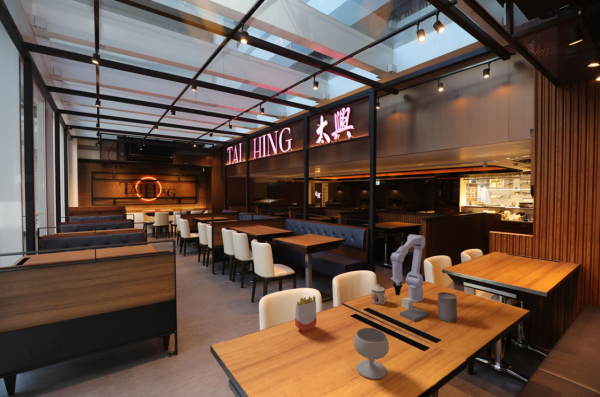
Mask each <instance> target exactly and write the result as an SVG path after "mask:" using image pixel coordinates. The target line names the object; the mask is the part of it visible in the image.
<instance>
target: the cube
mask: <svg viewBox="0 0 600 397" xmlns="http://www.w3.org/2000/svg"><path fill="white" fill-rule="evenodd" d="M401 307H403V308H405V309H406V310H408V309H411V308H414V302H413V299H410V298H408V297H407V296H406V297H404V298H401Z"/></svg>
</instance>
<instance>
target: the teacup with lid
mask: <svg viewBox="0 0 600 397" xmlns="http://www.w3.org/2000/svg"><path fill="white" fill-rule="evenodd" d="M370 290H371V303H372V304H373V305H378V306H379V305H381V306H382V305H384V304H385V303H386V301H387V300H388V299H387V298H388V297H387V295H386V289H385V288H384V287H383V286H381V285H380V284H376V285H375V286H372V287H371V289H370Z"/></svg>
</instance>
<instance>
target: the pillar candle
mask: <svg viewBox="0 0 600 397" xmlns="http://www.w3.org/2000/svg"><path fill="white" fill-rule="evenodd" d="M457 297H458V296H457V295H455V294H454V293H451V292H448V291H447V292H446V291H445V292H443V291H442V292H438V293H437V310H438V311H437V316H438V317H437V318H438V319H439V320H441V321H444V322H447V323H456V322H457V321H458V305H457V304H458V302H457V300H458V299H457Z"/></svg>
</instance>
